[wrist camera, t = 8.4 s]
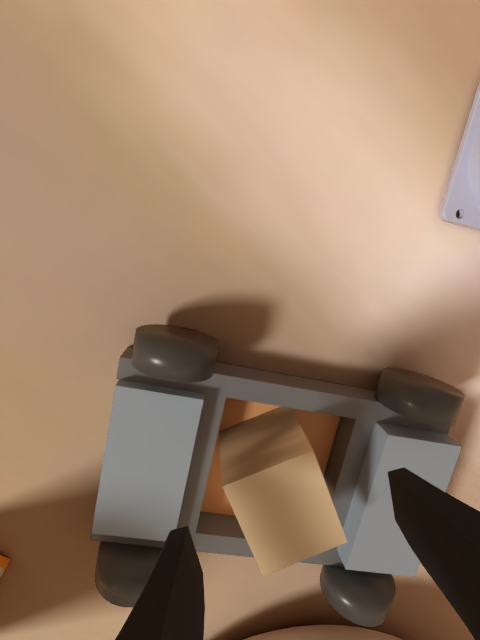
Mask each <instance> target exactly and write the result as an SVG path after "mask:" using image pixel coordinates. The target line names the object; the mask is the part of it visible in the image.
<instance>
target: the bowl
mask: <svg viewBox="0 0 480 640" xmlns="http://www.w3.org/2000/svg"><path fill="white" fill-rule="evenodd" d="M243 640H403V639H400V638H397V637H395V636H392V635H389V634H386V633H382V632H379V631H374V630H370V629H365V628H359V627H353V626H344V625H308V626H299V627H291V628H285V629H279V630H275V631H270V632H266V633H263V634H259V635H255V636H252V637H249V638H246V639H243Z"/></svg>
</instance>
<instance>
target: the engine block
mask: <svg viewBox="0 0 480 640" xmlns="http://www.w3.org/2000/svg"><path fill="white" fill-rule="evenodd" d="M219 445H220V460H221V474H222V487H223V489H224V491H225V494H226V496H227V498H228V500H229V502H230V505H231V507H232V509H233V511H234V513H235V516H236V518H237V520H238V522H239V525H240V527H241V529H242V531H243V533H244V536H245V538H246V540H247V542H248V544H249V547H250V549H251V551H252V553H253V555H254V558H255V560H256V562H257V564H258V567H259V569H260V571H261V573H262V575H263V576H265V575H268V574H270V573H273V572H275V571H278V570H280V569H282V568H285V567H287V566H290V565H292V564H295V563H297V562H300V561H302V560H305V559H307V558H310V557H312V556H315V555H317V554H319V553H322V552H324V551H327V550H329V549H332V548H334V547H337V546H339V545H342V544H344V543H347V540H346V537H345V534H344V531H343V529H342V526H341V523H340V521H339V518H338V515H337V513H336V510H335V507H334V505H333V502H332V499H331V496H330V494H329V491H328V488H327V486H326V483H325V480H324V478H323V475H322V472H321V470H320V467H319V464H318V461H317V459H316V456H315V453H314V451H313V449H312V447H311V445H310V443H309V441H308V439H307V437H306V436H305V434H304V432H303V430H302V428H301V426H300V424H299V422H298V420H297V419H296V417H295V415H294V413H293V411H292V409H291V408H288V407H282V406H281V407H278V408H276V409H273V410H271V411H268V412H266V413H263V414H261V415H258V416H256V417H253V418H251V419H248V420H246V421H243V422H241V423H238V424H236V425H233V426H231V427H228V428H226V429H223V430H221V431H219Z"/></svg>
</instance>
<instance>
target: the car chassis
mask: <svg viewBox="0 0 480 640" xmlns="http://www.w3.org/2000/svg"><path fill="white" fill-rule="evenodd" d="M218 349H219V342H218V341H217V340H216V339H215V338H213V337H211V336H209V335H207V334H204V333H202V332H199V331H195V330H192V329H187V328H183V327H177V326H170V325H144V326H140V327H138V328H137V329H136V333H135V339H134V345H133V347H130V346H128V347H127V349H126V350H125V351H124V352H123V354H122V355H121V356H120V360H119V366H118V372H117V378H116V379H119V381H118V382H117V384H116V385H115V391H114V397H113V403H112V410H111V416H110V422H109V428H108V434H107V440H106V446H105V452H104V459H103V465H102V471H101V477H100V483H99V489H98V495H97V502H96V508H95V514H94V520H93V525H92V532H91V538H90V540H94V541H101V543H100V547H99V552H98V558H97V564H96V570H95V583H96V587H97V589H98V591H99V593H100V594H101V595H102V597H104V598H105V599H106V600H107V601H109V602H110V603H112V604H115V605H118V606H122V607H134V606H135V604H136V602H137V600H138V598H139V596H140V594H141V592H142V590H143V588H144V586H145V584H146V582H147V580H148V578H149V576H150V574H151V572H152V570H153V568H154V566H155V563H156V561H157V559H158V557H159V555H160V552H161V550H162V548H163V545H164V543H165V541H166V539H167V536H168V534H169V532H170V531H171V530H174V529H178V528H181V527H185V526H188V527H189V530H190V534H191V537H192V540H193V543H194V546H195V550H196V551H198V552H208V553H217V554H227V555H236V556H246V557H254V555H253V553H252V551H251V549H250V547H249V544H248V542H247V540H246V538H245V536H244V533H243V531H242V529H241V527H240V525H239V522H238V520H237V518H236V516H235V513H234V511H233V509H232V507H231V505H230V502H229V500H228V498H227V496H226V494H225V491H224V489H223V487H222V474H221V460H220V445H219V431H221V430H223V429H226V428H228V427H231V426H233V425H236V424H238V423H241V422H243V421H246V420H248V419H251V418H253V417H256V416H258V415H261V414H263V413H266V412H268V411H271V410H273V409H276V408H278V407H281V406H282V407H288V408H291V409H292V411H293V413H294V415H295V417H296V419H297V420H298V422H299V424H300V426H301V428H302V430H303V432H304V434H305V436H306V437H307V439H308V441H309V443H310V445H311V447H312V449H313V451H314V453H315V456H316V459H317V461H318V464H319V467H320V470H321V472H322V475H323V478H324V480H325V483H326V486H327V488H328V491H329V494H330V496H331V499H332V502H333V505H334V507H335V510H336V513H337V515H338V518H339V521H340V523H341V526H342V529H343V531H344V534H345V537H346V540H347V543H344V544H342V545H339V546H337V547H334V548H332V549H329V550H327V551H324V552H322V553H319V554H317V555H315V556H312V557H310V558H307V559H305V560H302V561H300V562H303V563H312V564H322V565H323V567H322V570H321V574H320V585H321V589H322V591H323V594H324V596H325V598H326V599H327V601H328V602H329V603H330V605H331V606H332V607H333V608H334V609H335V610H336V611H337V612H338V613H339V614H340V615H342V616H343V617H344V618H346V619H347V620H349V621H351V622H353V623H355V624H358V625H361V626H365V627H375V626H378V625H380V624H382V623H383V622H384V621H385V620H386V618H387V615H388V612H389V609H390V606H391V604H392V601H393V598H394V595H395V590H396V588H395V582H394V579H393V577H392V575H391V574H394V575H404V576H413V577H415V576H416V574H417V571H418V568H419V565H420V563H421V562H420V560H419V559H418V558H417V556H416V555H415V553H414V552H413V551H412V549H411V547H410V546H409V544H408V542H407V540H406V539H405V537H404V535H403V533H402V532H401V530H400V528H399V526H398V524H397V523H396V521H395V517H394V510H393V504H392V497H391V491H390V485H389V478H388V471H392V470H396V469H399V468H403V467H404V468H406V469H408V470H409V471H411V472H413V473H414V474H416V475H418V476H419V477H421V478H422V479H424V480H426V481H427V482H429V483H431V484H432V485H434V486H436V487H437V488H439V489H440V490H442V491H444V492H446V490H447V488H448V485H449V482H450V479H451V477H452V474H453V471H454V468H455V465H456V463H457V460H458V457H459V454H460V452H461V449H462V446H460V445H459V444H458V443H457V442H455V441H454V440H453V439H451V438H450V437H449V436H448V435H446V434H448V431H449V428H450V427H452V426H454V425H455V422H456V419H457V416H458V413H459V410H460V408H461V405H462V402H463V399H464V394H463V393H462V392H461V391H459V390H458V389H456V388H455V387H453V386H451V385H449V384H447V383H444V382H442V381H440V380H437V379H434V378H432V377H429V376H426V375H423V374H419V373H416V372H412V371H408V370H404V369H399V368H383V369H382V373H381V376H380V379H379V383H378V386H377V389H376V391H375V390H370V389H364V388H359V387H353V386H347V385H342V384H336V383H331V382H325V381H320V380H314V379H308V378H303V377H297V376H292V375H286V374H280V373H275V372H269V371H264V370H258V369H252V368H247V367H241V366H236V365H230V364H225V363H219V362H216V358H217V354H218Z"/></svg>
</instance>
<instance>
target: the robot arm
mask: <svg viewBox="0 0 480 640" xmlns="http://www.w3.org/2000/svg"><path fill="white" fill-rule="evenodd" d="M457 210H458V211H459V213H460V216H459V218H457V217H456V212H457ZM440 218H441V219H442V220H443V221H445V222H449V223H453V224H457V225H461V226H465V227H469V228H472V229H476V230H480V82H479V85H478V89H477V92H476V95H475V98H474V102H473V105H472V108H471V111H470V115H469V118H468V121H467V124H466V128H465V131H464V134H463V137H462V141H461V144H460V147H459V150H458V154H457V157H456V160H455V163H454V166H453V170H452V173H451V176H450V179H449V183H448V186H447V189H446V192H445V196H444V199H443V202H442V205H441V209H440ZM388 478H389V485H390V491H391V497H392V504H393V510H394V517H395V521H396V523H397V524H398V526H399V528H400V530H401V532H402V533H403V535H404V537H405V539H406V540H407V542H408V544H409V546H410V547H411V549H412V551H413V552H414V553H415V555H416V556H417V558H418V559H419V560H420V562H421V563H422V565H423V566H424V568H425V569H426V570H427V572H428V573H429V575H430V576H431V577H432V579H433V580H434V581H435V583H436V584H437V586H438V587H439V588H440V590H441V591H442V593H443V594H444V595H445V597H446V598H447V600H448V601H449V602H450V604H451V605H452V606H453V608H454V609H455V611H456V612H457V613H458V615H459V616H460V618H461V619H462V620H463V622H464V623H465V625H466V626H467V628H468V629H469V631H470V632H471V634H472V635H473V637H474V639H475V640H480V511H478V510H476V509H474V508H472V507H470V506H468V505H467V504H465V503H463V502H461V501H459V500H458V499H456V498H454V497H452V496H451V495H449V494H447V493H446V492H444V491H442V490H440V489H439V488H437V487H436V486H434V485H432V484H431V483H429V482H427V481H426V480H424V479H422V478H421V477H419V476H418V475H416V474H414V473H413V472H411V471H409V470H408V469H406V468H404V467H403V468H399V469H396V470H392V471H388ZM204 612H205V605H204V584H203V572H202V569H201V566H200V562H199V559H198V556H197V553H196V550H195V546H194V543H193V540H192V537H191V534H190V530H189V527H188V526H185V527H181V528H178V529H174V530H171V531H170V532H169V534H168V536H167V539H166V541H165V543H164V545H163V548H162V550H161V552H160V555H159V557H158V559H157V561H156V563H155V566H154V568H153V570H152V572H151V574H150V576H149V578H148V580H147V582H146V584H145V586H144V588H143V590H142V592H141V594H140V596H139V598H138V600H137V602H136V604H135V606H134V607H133V609H132V611H131V613H130V615H129V617H128V618H127V620H126V622H125V624H124V626H123V627H122V629H121V631H120V632H119V634H118V636H117V637H116V639H115V640H203V634H204Z"/></svg>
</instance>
